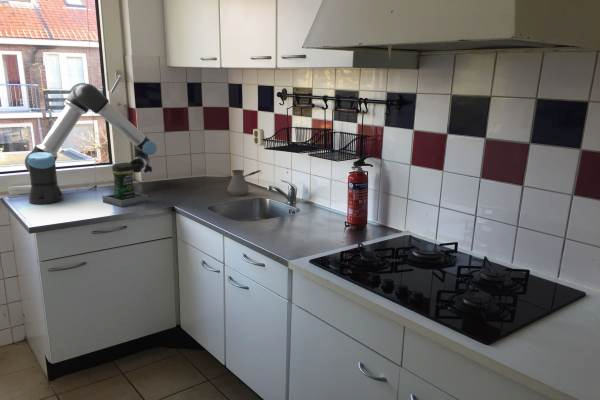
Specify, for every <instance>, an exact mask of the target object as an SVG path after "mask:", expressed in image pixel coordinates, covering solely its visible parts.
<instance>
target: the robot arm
mask: <svg viewBox="0 0 600 400" xmlns="http://www.w3.org/2000/svg"><path fill="white" fill-rule="evenodd" d="M89 110H90V111H91V112H93V113H94V114H96V115H99V116H101V117H102V118H103V119H104V120H105V121H106V122H107V123H109V124H110V125H111V126H112V127H113V128H114V129H116V130H117V131H118V132H119V133H120V134H121V135H122V136H124V137H125V138H126V139H127V140H128V141H130V143H132V144H133V151H134V152H133V154H134V158H133V159H132V160H131V161H130V162H129V163H131V164H132V165H133V170H134V171H133V173H136V174H138V173H141V175H142V176H143V175H145V174H146V173H149V172H150V173H152V172H153V168H152V165H150V163H149V162H151V159H149V158H150V157H149V158H148V156H152V155H154V154H156V152H157V149H158V147H157V146H158V145H157V144H156V143H155V142H154V141H153V140H151V139H149V138H148V135H147V134H145V133H143V132H142V131H140V129H138V128H137V127H136V126H135V125H134V124H133V123H132V122H131V121H129V120H128V119H127V118H126V117H125V116H124V114H121V113H120V112H119V110H117V109H116V108H115V107H114V106H113V105H112V104H110V100H109V99H108V98H107V97H106V96H105V95H104V94H103V93H102V92H101V91H100V90H99V89H98V88H97V87H96V86H94V85H93V84H90V83H87V82H86V83H85V82H79V83H75V84H73V86H72V87H71V88H70V90H69V94H68V95H67V98H65V106H64V108H63V109H62V111H61V113H60V114H59V115H58V117H57V118H56V120H55V121H54V123H53V125H52V126H51V127H50V129H49V130H48V132H47V133H46V135H45V136H44V138H43V140H42V141H41V143H39V144H35V146H34V147H33V149H32V150H31V151H30V152H29V153H28V154H27V155H26V156H25V158H24V166H25V169H26V170H27V171H28V172H29V179H30V191H29V194H28V202H29V203H30V204H32V205H49V204H54V203H58V202H62V201H63V200H64V195H63V192H62V190H61V188H60V185H59V184H58V174H57V167H56V161H57V159H58V158H59V157H58V152H59V151H60V149H61V147H62V146H63V145H64V142H65V141H66V140H67V138H68V137H69V135H70V133H72V132H71V131H72V130H73V129H74V128H75V126H76V125H77V123H78V121H79V120H80V118H81V116H83V115H85V114H87V113H88V112H89ZM111 169H113V166H111Z"/></svg>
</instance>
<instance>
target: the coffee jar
mask: <svg viewBox="0 0 600 400" xmlns="http://www.w3.org/2000/svg"><path fill="white" fill-rule="evenodd" d="M112 167H113V169H112V168H111V169H112V175H113V178H114V179H113V180H114V181H113V182H114V186H113V187H114V189H113V194H114V199H118V200H126V199H130V198H135V186H134V178H133V174H134V172H133V171H134V170H133V165H132V164H131V163H130V162H120V163H113V165H112Z"/></svg>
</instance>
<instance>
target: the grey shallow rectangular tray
mask: <svg viewBox="0 0 600 400" xmlns="http://www.w3.org/2000/svg"><path fill="white" fill-rule="evenodd" d="M148 201H149V197H148V195H147V194H143V193H140V192H135V198H130V199H126V200H118V199H114V193H112V194H108V195H103V196H102V203H105V204H107V205H110V206H114V207H115V206H116V207H118V208H125V207H128V206H134V205H137V204H141V203H146V202H148Z"/></svg>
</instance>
